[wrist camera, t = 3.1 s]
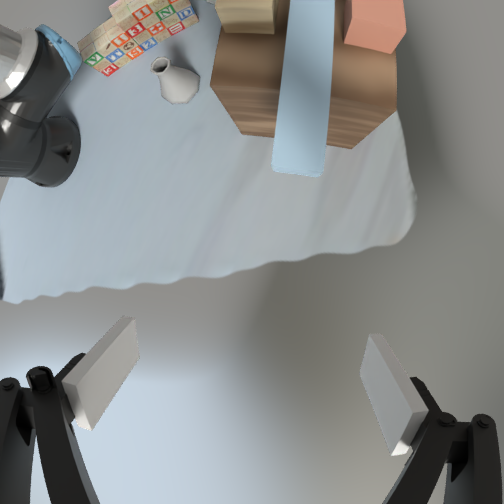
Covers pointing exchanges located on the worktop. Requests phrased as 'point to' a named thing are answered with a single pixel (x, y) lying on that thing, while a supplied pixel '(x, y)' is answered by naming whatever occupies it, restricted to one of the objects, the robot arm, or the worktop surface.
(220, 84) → the walnut stand
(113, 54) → the stack of blocks
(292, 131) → the blue bar
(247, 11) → the oak cube
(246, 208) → the worktop surface
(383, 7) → the brick cube
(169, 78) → the flask
